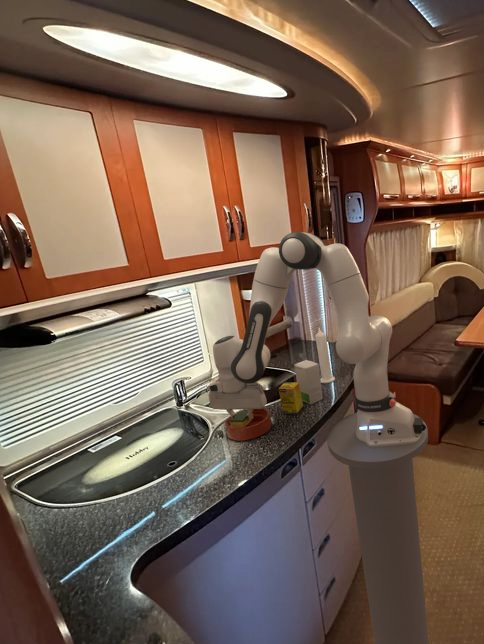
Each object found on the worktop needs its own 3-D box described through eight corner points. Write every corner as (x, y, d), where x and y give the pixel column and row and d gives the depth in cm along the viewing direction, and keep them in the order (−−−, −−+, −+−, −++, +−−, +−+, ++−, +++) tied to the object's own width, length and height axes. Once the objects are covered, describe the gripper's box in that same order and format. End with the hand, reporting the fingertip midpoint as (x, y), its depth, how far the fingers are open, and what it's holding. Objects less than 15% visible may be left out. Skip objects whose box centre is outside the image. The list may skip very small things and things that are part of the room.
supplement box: (283, 414, 142) (278, 388, 138) (289, 407, 147) (284, 381, 144) (297, 415, 140) (292, 388, 137) (303, 407, 145) (299, 381, 142)
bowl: (278, 419, 138) (276, 407, 137) (260, 442, 124) (257, 429, 123) (241, 419, 142) (239, 407, 141) (219, 441, 128) (216, 428, 126)
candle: (337, 380, 168) (329, 326, 161) (323, 385, 165) (314, 330, 157) (330, 376, 174) (323, 324, 167) (317, 380, 171) (308, 328, 163)
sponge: (253, 417, 135) (251, 410, 134) (244, 428, 129) (242, 420, 128) (242, 417, 136) (240, 410, 135) (232, 427, 130) (230, 420, 129)
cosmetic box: (299, 400, 153) (292, 364, 148) (311, 394, 157) (305, 359, 152) (311, 405, 147) (305, 368, 142) (324, 398, 151) (318, 362, 146)
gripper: (265, 378, 128) (272, 414, 132) (213, 379, 133) (221, 414, 137) (257, 386, 122) (265, 423, 127) (202, 387, 127) (212, 423, 131)
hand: (242, 418), depth 132 cm, fingers closed on sponge, 4 cm apart
